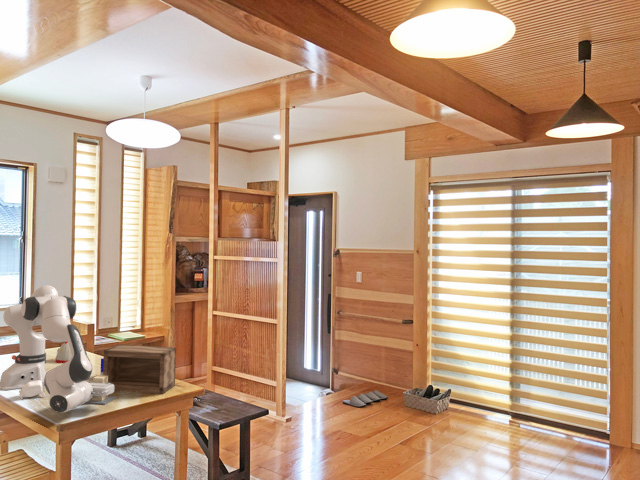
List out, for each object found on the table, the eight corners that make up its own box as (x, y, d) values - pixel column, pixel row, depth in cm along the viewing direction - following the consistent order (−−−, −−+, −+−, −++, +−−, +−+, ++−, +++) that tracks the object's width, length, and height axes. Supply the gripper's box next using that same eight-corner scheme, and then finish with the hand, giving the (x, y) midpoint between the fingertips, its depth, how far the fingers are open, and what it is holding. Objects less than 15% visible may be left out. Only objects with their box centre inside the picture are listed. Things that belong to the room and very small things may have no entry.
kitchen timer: (50, 362, 298) (51, 336, 298) (68, 357, 311) (69, 332, 312) (69, 364, 294) (70, 338, 294) (87, 359, 307) (87, 334, 307)
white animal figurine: (24, 407, 227) (60, 390, 234) (17, 390, 225) (53, 373, 233) (23, 401, 234) (58, 385, 242) (16, 385, 233) (51, 369, 240)
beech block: (102, 401, 227) (102, 378, 227) (92, 400, 227) (93, 377, 227) (107, 398, 231) (108, 375, 231) (97, 397, 231) (98, 375, 232)
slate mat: (104, 404, 224) (104, 403, 224) (83, 403, 225) (83, 401, 225) (116, 398, 233) (116, 396, 233) (95, 396, 234) (95, 395, 235)
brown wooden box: (163, 394, 242) (164, 353, 242) (102, 390, 245) (103, 350, 245) (174, 386, 255) (175, 347, 256) (117, 382, 259) (118, 344, 259)
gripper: (105, 386, 212) (121, 377, 226) (58, 383, 214) (77, 375, 228) (104, 401, 212) (121, 392, 226) (58, 399, 214) (76, 390, 228)
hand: (98, 383), depth 227 cm, fingers open, 8 cm apart
